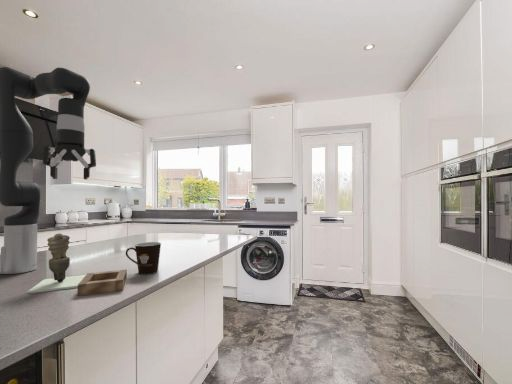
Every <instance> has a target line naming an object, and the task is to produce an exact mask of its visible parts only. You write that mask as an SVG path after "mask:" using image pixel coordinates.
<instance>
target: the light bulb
mask: <svg viewBox="0 0 512 384" xmlns="http://www.w3.org/2000/svg"><path fill="white" fill-rule="evenodd" d="M70 238H71V237H70V236H69V235H67V234H62V233H60V232H59V233H56V234H54V236H51V237H48V238H47V243H46V244H47V246H48V248H47V249H48V251H50V254H51V256H52V258H50V259H49V260H48V268H49V271H51V272H52V273H53V278H54V280H57V281H58V282H62V281H63V280H64V279H65V277H66V272H67V270H68V269H69V267H70V261H71V258H70V257H69V256H67V251H68V250H69V248H70V246H69V244H70Z"/></svg>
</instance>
